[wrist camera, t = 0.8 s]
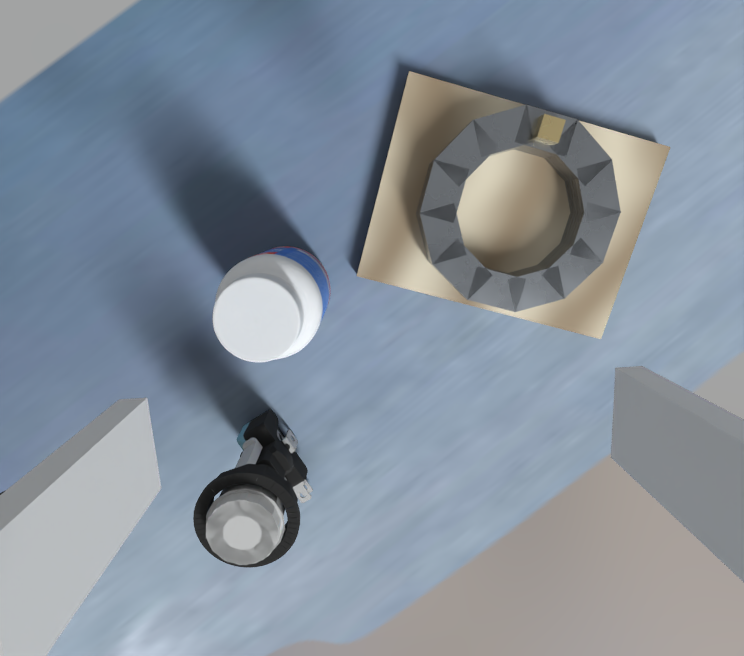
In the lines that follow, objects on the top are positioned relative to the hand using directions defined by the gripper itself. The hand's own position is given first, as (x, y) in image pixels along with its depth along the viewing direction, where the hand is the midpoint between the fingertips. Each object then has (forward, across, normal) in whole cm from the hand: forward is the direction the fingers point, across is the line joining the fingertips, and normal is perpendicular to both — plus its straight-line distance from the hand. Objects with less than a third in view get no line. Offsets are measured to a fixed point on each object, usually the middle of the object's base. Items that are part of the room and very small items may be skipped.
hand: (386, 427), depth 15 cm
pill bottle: (+19, -5, +1) cm, 20 cm away
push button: (+19, -6, -10) cm, 23 cm away
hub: (+19, +9, +5) cm, 22 cm away
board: (+19, +9, +5) cm, 22 cm away
